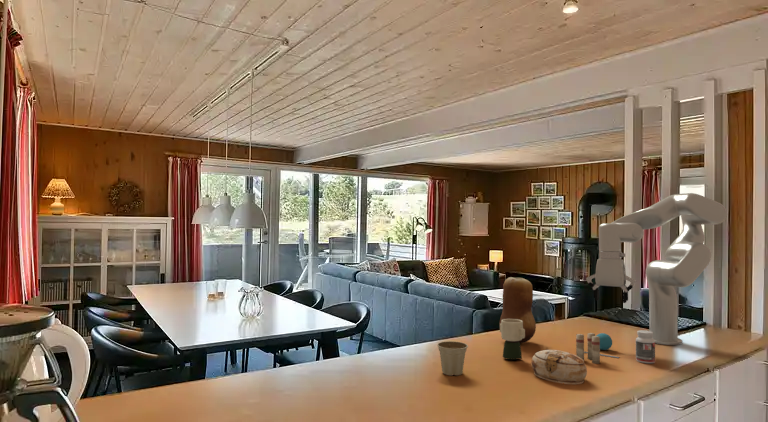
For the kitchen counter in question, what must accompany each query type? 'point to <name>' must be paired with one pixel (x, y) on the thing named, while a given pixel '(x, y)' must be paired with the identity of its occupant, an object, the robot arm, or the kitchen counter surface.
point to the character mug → (512, 337)
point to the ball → (605, 341)
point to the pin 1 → (580, 345)
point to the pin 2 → (595, 349)
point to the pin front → (590, 344)
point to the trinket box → (559, 367)
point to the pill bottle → (645, 347)
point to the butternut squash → (519, 304)
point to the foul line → (605, 355)
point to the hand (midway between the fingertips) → (610, 301)
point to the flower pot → (452, 357)
